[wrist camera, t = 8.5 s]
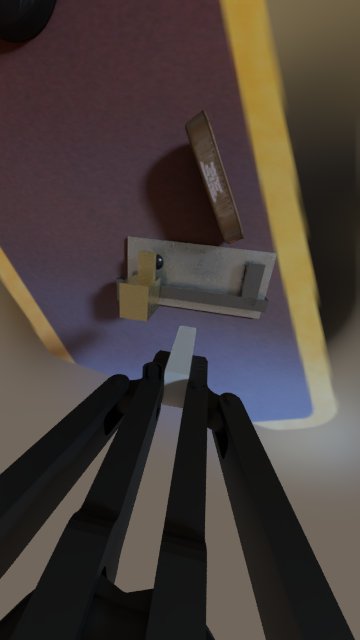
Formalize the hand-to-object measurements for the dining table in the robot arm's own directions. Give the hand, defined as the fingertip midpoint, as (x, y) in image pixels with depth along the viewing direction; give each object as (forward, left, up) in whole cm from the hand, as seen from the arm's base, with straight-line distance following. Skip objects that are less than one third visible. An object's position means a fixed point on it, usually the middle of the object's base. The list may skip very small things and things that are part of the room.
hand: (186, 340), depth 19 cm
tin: (-15, 0, -20) cm, 25 cm away
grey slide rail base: (-2, -1, -18) cm, 18 cm away
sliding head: (-1, -8, -18) cm, 20 cm away
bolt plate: (-2, -1, -19) cm, 19 cm away
